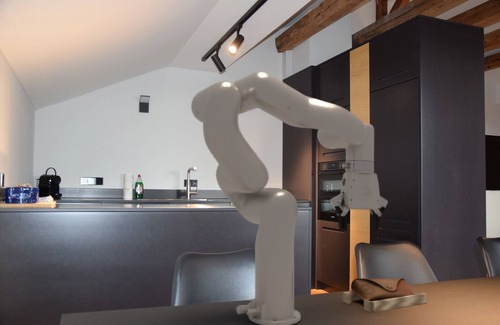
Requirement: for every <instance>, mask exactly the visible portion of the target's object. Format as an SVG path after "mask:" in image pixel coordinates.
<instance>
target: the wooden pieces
mask: <svg viewBox="0 0 500 325" xmlns="http://www.w3.org/2000/svg"><path fill="white" fill-rule="evenodd" d="M341 293H342V295H341V296H342V297H341V298H342V301H341V302H342V303H346V304H348V305H351V304H352V302H353V301H355V302H356V301H363V311H366V312H370V313H377V312H381V311H382V312H383V311H388V310H394V309H399V308H400V309H401V308H404V307H410V306H416V305H421V304H422V305H424V304H427V293H425V292H423V293H418V294H414V295H410V296H404V297H397V298H391V299H385V300H375V301H368V300H363V299H361V298H360V297H358V296H357V295H356V294H354V293H353V292H352V290H350V291H344V292H341Z"/></svg>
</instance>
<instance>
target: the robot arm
mask: <svg viewBox="0 0 500 325" xmlns="http://www.w3.org/2000/svg"><path fill="white" fill-rule="evenodd" d="M190 106H191V107H190V108H191V113H192V114H193V116H194V118H195V119H196V120H198V121H199V122H201V123H202V130H203V132H202V133H203V138H204V142H205V145H206V147H207V149H208V151H209V153H210V154H211V155H212V156H213V158H214V159H215V161H216V162H217V164H218V165H217V167H216V171H215V176H216V181H217V185H218V186H219V188H220V190H221V192H222V193H223V194H224V195H225V197H226V198H227V199H228V200H229V202H230V203H231V204H232V205H233V206H234V208H235V210H236V211H238V212H239V214H240V215H241V216H242V217H243V218H244V219H245V220H246V221H247V222H250V223H252V224H255V225H258V229H257V233H256V237H255V242H254V243H255V244H254V256H255V258H254V259H255V260H254V265H255V266H254V269H255V270H254V279H255V280H254V298H251V299H250V302H248V303H247V304H241V305H237V306H236V314H238V315H243V314H246V315H247V316H248V319H249V321H251V322H253V324H258V325H294V324H297V323H298V322H300V321H301V318H302V317H301V313H300V312H299V311H298V310H296V309H295V235H296V234H295V233H296V232H295V231H296V226H297V220H298V214H299V206H298V202H297V200H296V198H295V197H294V194H292V193H291V192H290V191H288V190H286V189H283V188H279V187H266V186H267V185H268V183H269V178H270V177H269V175H270V174H269V171H268V168H267V167H266V165H265V164H264V162H263V161H262V159H260V157H259V156H258V155H257V152H255V150H254V149H253V148H252V147H251V145H250V143H249V141H247V140H246V138H245V136H244V135H243V134H242V132H241V129H240V125H239V115H241V114H244V113H247V112H250V111H253V110H255V109H259V110H261V111H263V112H264V113H267V114H269V115H271V116H272V117H274V118H275V119H277V120H280V121H281V122H282V123H285V124H286V125H288V126H291V127H295V128H301V129H314V130H318V131H317V140H318V142H319V144H320V145H321V146H322V147H324V148H325V149H330V150H337V149H345V161H344V162H345V163H341V168H342V169H344V170H345V172H343V175H342V179H341V187H340V193H339V194H338V195H336V196H334V197H332V198H330V200H329V202H330V204H331V207H332V210H333V211H334V212H335V213H336V215H337V216H338V228H339V230H340V231H342V232H347V231H348V216H347V214H348V212H349V211H350V210H361V211H362V210H365V211H366V210H367V211H369V212H370V213H371V215H370V221H369V222H370V225H369V226H370V231H375V232H379V231H380V230H379V229H380V217H382V213H384V212H385V210H386V207H387V205H388V203H389V201H388V200H387V199H386V198H384V197H382V196H381V195H380V185H379V179H378V174H377V173H375V168H374V167H375V164H374V162H375V127H374V126H373V125H372V124H371V123H364V121H363V120H362V119H360V118H359V117H358V116H357V115H355V114H354V113H352V112H350V111H349V110H347V109H346V108H344V107H343V106H339V105H338V104H334V103H331V102H328V101H324V100H320V99H318V98H313V97H311V96H307V95H305V94H303V93H301V92H300V91H298V90H297V89H295V88H293V87H291V86H290V85H288V84H286V83H285V82H284V81H282V80H280V79H278V78H277V77H275V76H273V75H271V74H270V73H269V72H264V71H256V72H253V73H251V74H248V75H246V76H243V77H242V78H240V79H238V80H235V81H231V82H230V81H226V80H225V81H224V80H223V81H222V80H221V81H218V82H214V83H213V84H211V85H209V86H207V87H206V88H204V89H202V90H199V91H198V92H197V93H196V94H195V95H194V97H192V100H191V104H190ZM338 202H339V203H340V204H339V205H340V206H339V205H338Z"/></svg>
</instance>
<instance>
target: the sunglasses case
mask: <svg viewBox="0 0 500 325" xmlns="http://www.w3.org/2000/svg"><path fill="white" fill-rule="evenodd" d="M350 289H351V290H350V291H352V292H353V293H354V294H356V295H357V296H358V297H360V298H361V299H362V301H364V300H368V301H371V302H373V301H379V300H385V299H391V298H397V297H404V296H410V295H415V294H414V292H413V291H412V289H411V287H409V285H408V284H407V282H406V281H405V278H403V277H401V278H365V277H363V278H362V277H361V278H358V277H357V278H354V279H353V280H352V282H351V284H350Z"/></svg>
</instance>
